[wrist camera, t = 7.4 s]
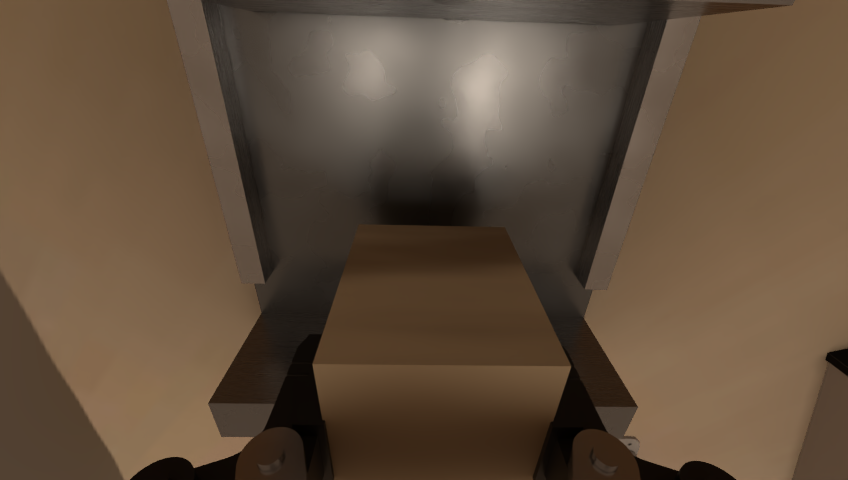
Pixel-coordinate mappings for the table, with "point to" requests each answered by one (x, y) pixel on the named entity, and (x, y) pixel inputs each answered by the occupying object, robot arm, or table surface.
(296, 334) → the press
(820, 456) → the disc drive
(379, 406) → the maple block
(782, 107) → the table surface
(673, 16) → the jaw
